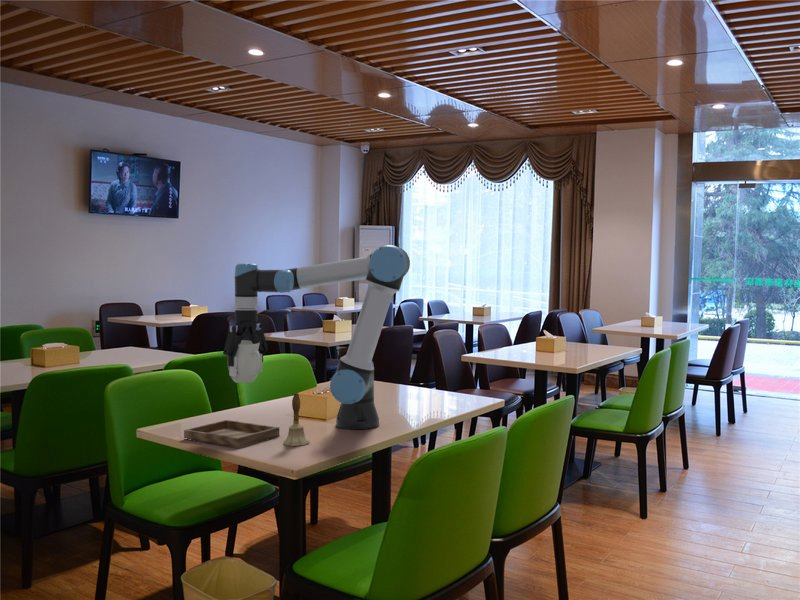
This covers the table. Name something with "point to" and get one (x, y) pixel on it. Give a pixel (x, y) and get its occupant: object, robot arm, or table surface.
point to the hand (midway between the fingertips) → (246, 374)
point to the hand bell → (296, 427)
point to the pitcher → (247, 362)
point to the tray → (232, 433)
